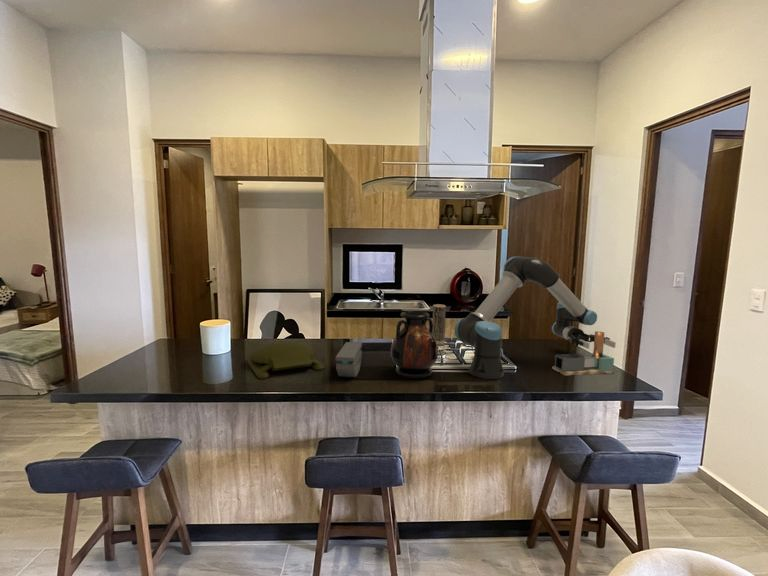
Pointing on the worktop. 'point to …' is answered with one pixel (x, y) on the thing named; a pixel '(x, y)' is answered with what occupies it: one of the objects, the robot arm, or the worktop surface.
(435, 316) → the wooden log
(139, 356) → the worktop surface
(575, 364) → the sleeve
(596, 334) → the slip bolt
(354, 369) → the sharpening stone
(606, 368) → the socket
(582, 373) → the base board
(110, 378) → the worktop surface
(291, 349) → the olive folded cloth
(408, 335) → the amphora vase
